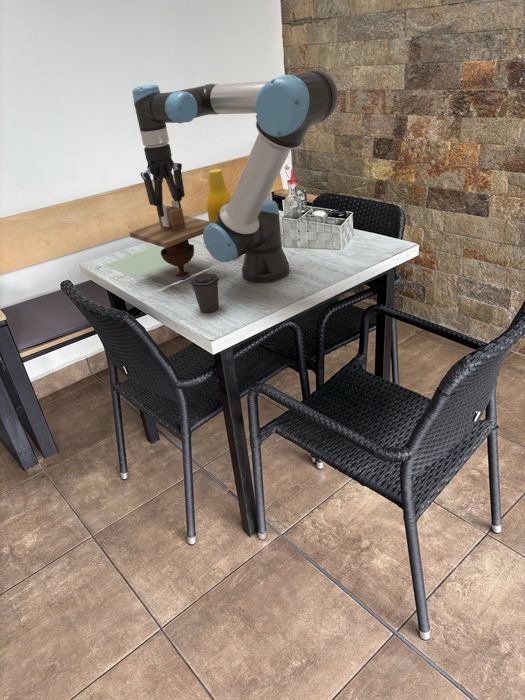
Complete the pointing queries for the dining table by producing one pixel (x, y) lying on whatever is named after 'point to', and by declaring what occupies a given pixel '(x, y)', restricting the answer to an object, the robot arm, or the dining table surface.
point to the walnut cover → (171, 229)
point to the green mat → (140, 263)
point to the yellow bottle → (216, 194)
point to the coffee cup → (206, 292)
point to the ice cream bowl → (179, 256)
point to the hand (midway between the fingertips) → (172, 223)
